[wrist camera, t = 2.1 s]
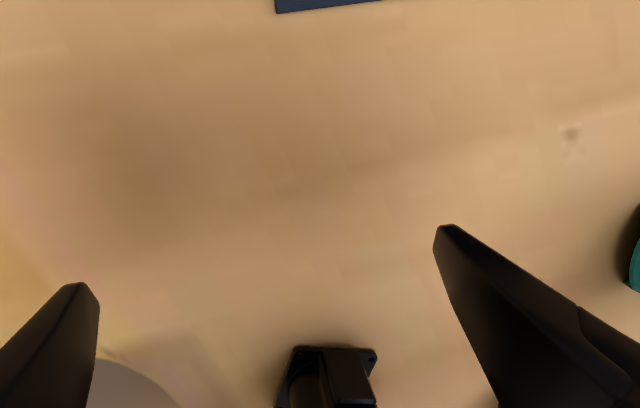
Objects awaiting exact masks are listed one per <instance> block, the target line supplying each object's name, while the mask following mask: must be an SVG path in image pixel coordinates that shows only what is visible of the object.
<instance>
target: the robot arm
mask: <svg viewBox="0 0 640 408" xmlns="http://www.w3.org/2000/svg"><path fill="white" fill-rule="evenodd" d="M433 254H434V257H435V260H436V263H437V266H438V268H439V271H440V274H441V277H442V280H443V283H444V286H445V288H446V291H447V294H448V297H449V299H450V302H451V305H452V307H453V309H454V311H455V313H456V315H457V317H458V319H459V321H460V324H461V326H462V328H463V330H464V332H465V334H466V336H467V338H468V340H469V342H470V344H471V346H472V348H473V350H474V352H475V354H476V356H477V358H478V361H479V363H480V365H481V367H482V369H483V371H484V373H485V375H486V377H487V379H488V381H489V383H490V385H491V387H492V389H493V391H494V393H495V396H496V398H497V400H498V402H499V404H500V406H501V408H640V343H638V342H636V341H634V340H633V339H631V338H629V337H628V336H626V335H624V334H623V333H621V332H619V331H617V330H616V329H614V328H613V327H611V326H610V325H608V324H606V323H605V322H603V321H602V320H600V319H598V318H597V317H595V316H594V315H592V314H591V313H589V312H588V311H586V310H585V309H583V308H582V307H580V306H577V305H576V304H575V303H574V302H572V301H571V300H569V299H568V298H566V297H565V296H563V295H562V294H560V293H559V292H557V291H555V290H554V289H552V288H551V287H549V286H548V285H546V284H545V283H543V282H542V281H540V280H539V279H537V278H536V277H534V276H533V275H531V274H530V273H528V272H527V271H525V270H524V269H522V268H520V267H519V266H517V265H516V264H514V263H513V262H511V261H510V260H508V259H507V258H505V257H504V256H502V255H501V254H499V253H498V252H496V251H495V250H493V249H492V248H490V247H489V246H487V245H485V244H484V243H482V242H481V241H479V240H478V239H476V238H475V237H473V236H472V235H470V234H469V233H467V232H466V231H464V230H463V229H461V228H460V227H458V226H457V225H455V224H446V225H440V226H439V227H438V228H437V231H436V235H435V239H434V243H433ZM99 314H100V306H99V302H98V300H97V299H96V297H95V296H94V295H93V293H92V292H91V290H90V289H89V287H88V286H87V285H86V284H85V283H83V282H78V283H71V284H66V285H64V286H63V287H61V288H60V289H59V290H58V291H57V292H56V293H55V294H54V295H53V296H52V297H51V298H50V299H49V300H48V301H47V302H46V303H45V304H44V305H43V306H42V307H41V308H40V310H39V311H38V312H37V313H36V314H35V315H34V316H33V317H32V318H31V319H30V320H29V321H28V322H27V323H26V324H25V325H24V326H23V327H22V328H21V329H20V330H19V331H18V332H17V333H16V334H15V335H14V336H13V337H12V338H11V339H10V340H9V341H8V342H7V343H6V344H5V345H4V346H3V347H2V348H1V349H0V408H86V404H87V399H88V395H89V390H90V386H91V381H92V376H93V370H94V364H95V355H96V345H97V335H98V325H99ZM299 353H300V354H299ZM376 361H377V355H376V353H375V352H374V351H372V350H357V349H341V348H326V347H310V346H298V347H295V348H294V349H293V351H292V353H291V356H290V359H289V362H288V364H287V367H286V370H285V372H284V375H283V378H282V381H281V383H280V386H279V389H278V392H277V394H276V397H275V400H274V402H273V408H378V407H377V405H376V398H375V395H374V392H373V390H372V387H371V384H370V382H369V379H368V377H369V375H370V373H371V371H372V369H373V367H374V365H375V363H376Z"/></svg>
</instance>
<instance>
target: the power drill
mask: <svg viewBox="0 0 640 408" xmlns="http://www.w3.org/2000/svg"><path fill="white" fill-rule="evenodd" d="M629 280H630V281H627V282H624V284H625V285H627V286H628V287H630V288H631V289H633V290H635V291H637V292H639V293H640V238H639V240H638V243H637V245H636V247H635V249H634V252H633V255H632V259H631V262H630V269H629Z"/></svg>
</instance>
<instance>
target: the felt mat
mask: <svg viewBox="0 0 640 408" xmlns="http://www.w3.org/2000/svg"><path fill="white" fill-rule="evenodd" d="M372 1H380V0H275V7H276V13H277V14H279V13H287V12H295V11H302V10H310V9H318V8H326V7H333V6H341V5H349V4H356V3H364V2H372Z"/></svg>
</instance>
